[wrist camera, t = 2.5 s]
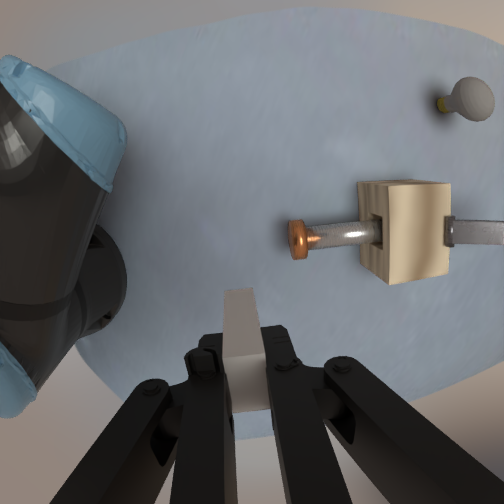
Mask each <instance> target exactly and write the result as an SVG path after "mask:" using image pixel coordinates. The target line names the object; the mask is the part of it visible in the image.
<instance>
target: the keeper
mask: <svg viewBox="0 0 504 504" xmlns="http://www.w3.org/2000/svg"><path fill="white" fill-rule="evenodd" d="M454 244H488V245H504V221H489V220H455V216H446V233H445V246H446V247H454Z"/></svg>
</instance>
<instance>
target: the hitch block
mask: <svg viewBox="0 0 504 504" xmlns="http://www.w3.org/2000/svg"><path fill="white" fill-rule="evenodd" d="M357 187H358V203H359V221H366V220H376V219H382V220H383V241H380V242H372V243H364V244H360V264H362V265H363V266H364V267H366V268H367V269H368V270H370V271H371V272H372V273H374V274H375V275H376V276H378V277H379V278H380V279H382V280H383V281H384V282H385V283H387V284H388V285H393V284H398V283H403V282H409V281H414V280H419V279H424V278H429V277H434V276H439V275H444V274H448V265H449V250H450V247H446V246H445V233H446V216H451V193H450V184H449V183H441V182H432V181H423V180H389V181H369V182H357Z"/></svg>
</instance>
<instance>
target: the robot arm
mask: <svg viewBox="0 0 504 504" xmlns="http://www.w3.org/2000/svg"><path fill="white" fill-rule="evenodd" d="M126 145H127V133H126V129H125V127H124V125H123V123H122V122H121V120H120V119H119V118H118V117H117V116H115V115H114V114H113V113H111V112H110V111H109V110H107V109H106V108H104V107H103V106H101V105H100V104H99V103H97V102H96V101H94V100H92V99H91V98H89V97H88V96H86V95H85V94H83V93H82V92H80V91H78V90H77V89H75V88H73V87H72V86H70V85H68V84H67V83H65V82H63V81H62V80H60V79H58V78H56V77H55V76H53V75H51V74H49V73H47V72H45V71H43V70H42V69H40V68H38V67H34V66H32V65H31V64H29V63H26V62H24V61H22V60H21V59H20V58H18V57H15V56H12V55H5V56H4V57H2V59H1V60H0V417H2V418H13V417H16V416H18V415H19V414H20V413H21V412H22V411H23V410H24V409H25V408H26V406H27V405H28V404H29V403H30V402H32V401H34V400H35V399H36V396H37V393H38V391H39V390H40V389H41V387H42V386H43V384H44V383H45V381H46V380H47V379H48V378H49V376H50V375H51V374H52V372H53V371H54V370H55V368H56V367H57V366H58V364H59V363H60V362H61V360H62V359H63V358H64V356H65V355H66V354H67V352H68V351H69V350H70V348H71V347H72V346H73V345H74V343H75V342H76V341H77V340H78V339H79V338H82V337H84V336H87V335H90V334H92V333H95V332H97V331H99V330H101V329H102V328H104V327H105V326H106V325H108V324H109V323H110V322H111V321H112V319H113V318H114V317H115V315H116V314H117V313H118V311H119V310H120V308H121V306H122V304H123V301H124V299H125V295H126V288H127V276H126V269H125V265H124V262H123V259H122V256H121V254H120V251H119V250H118V248H117V246H116V244H115V243H114V241H113V240H112V239H111V237H110V236H109V235H108V234H107V233H106V232H105V231H104V230H103V229H102V228H101V227H100V226H98V225H97V224H96V223H97V221H98V218H99V215H100V213H101V210H102V208H103V206H104V203H105V201H106V198H107V196H108V193H111V192H112V189H113V185H112V182H113V179H114V177H115V174H116V171H117V168H118V166H119V163H120V161H121V159H122V156H123V154H124V151H125V148H126ZM184 360H185V364H186V367H187V371H188V375H189V376H188V380H186V381H185V382H183V383H180V384H177V385H173V386H169V385H168V383H167V382H166V381H165V380H162V379H149V380H145V381H143V382H141V383H140V384H139V385H138V386H136V388H135V389H134V390H133V392H132V393H131V394H130V396H129V397H128V398H127V400H126V401H125V402H124V404H123V405H122V406H121V408H120V409H119V410H118V412H117V413H116V414H115V416H114V417H113V418H112V420H111V421H110V422H109V424H108V425H107V426H106V428H105V429H104V430H103V432H102V433H101V434H100V436H99V437H98V438H97V440H96V441H95V442H94V444H93V445H92V446H91V448H90V449H89V450H88V452H87V453H86V454H85V456H84V457H83V458H82V460H81V461H80V462H79V464H78V465H77V467H76V468H75V469H74V471H73V472H72V473H71V475H70V476H69V477H68V479H67V480H66V482H65V483H64V484H63V486H62V487H61V488H60V490H59V491H58V492H57V494H56V495H55V496H54V498H53V499H52V501H51V502H50V504H154V503H155V501H156V498H157V497H158V495H159V493H160V490H161V488H162V486H163V484H164V481H165V480H166V478H167V476H168V474H169V472H170V469H171V468H172V465H173V463H174V461H175V466H174V473H173V481H172V488H171V496H170V504H238V499H237V481H236V480H237V479H236V458H235V435H234V420H233V415H232V410H233V413H239V412H249V411H257V410H265V409H271V417H272V426H273V430H274V435H275V440H276V446H277V452H278V458H279V463H280V469H281V475H282V481H283V487H284V492H285V498H286V503H287V504H352V501H351V498H350V495H349V492H348V489H347V486H346V484H345V481H344V478H343V475H342V472H341V469H340V467H339V464H338V461H337V458H336V455H335V453H334V450H333V447H332V444H331V441H330V439H329V436H328V433H327V430H326V427H325V425H326V426H327V427H328V428H329V430H330V431H331V432H332V433H333V435H334V436H335V437H336V439H337V440H338V441H339V442H340V443H341V445H342V446H343V447H344V449H345V450H346V451H347V452H348V454H349V455H350V456H351V457H352V458H353V459H354V461H355V462H356V463H357V465H358V466H359V467H360V468H361V470H362V471H363V472H364V473H365V474H366V476H367V477H368V478H369V479H370V480H371V482H372V483H373V484H374V485H375V486H376V487H377V489H378V490H379V491H380V492H381V493H382V495H383V496H384V497H385V498H386V499H387V501H388V502H389V503H390V504H504V482H503V481H502V480H501V479H499V478H498V477H497V476H495V475H494V474H493V473H492V472H490V471H489V470H488V469H487V468H486V467H484V466H483V465H482V464H481V463H479V462H478V461H477V460H476V459H475V458H473V457H472V456H471V455H470V454H468V453H467V452H466V451H465V450H463V449H462V448H461V447H460V446H459V445H458V444H456V443H455V442H454V441H453V440H451V439H450V438H449V437H448V436H447V435H445V434H444V433H443V432H442V431H440V430H439V429H438V428H437V427H436V426H435V425H433V424H432V423H431V422H430V421H429V420H427V419H426V418H425V417H424V416H423V415H421V414H420V413H419V412H418V411H417V410H415V409H414V408H413V407H412V406H411V405H409V404H408V403H407V402H406V401H405V400H404V399H402V398H401V397H400V396H399V395H398V394H396V393H395V392H394V391H393V390H392V389H390V388H389V387H388V386H387V385H386V384H385V383H383V382H382V381H381V380H380V379H379V378H377V377H376V376H375V375H374V374H373V373H372V372H370V371H369V370H368V369H367V368H366V367H364V366H363V365H362V364H361V363H360V362H359V361H357V360H356V359H354V358H352V357H347V356H338V357H334V358H331V359H329V360H328V361H327V362H326V363H325V364H324V368H322V367H309V366H306V365H304V364H303V363H302V361H301V360H300V359H299V358H297V356H296V354H295V351H294V348H293V345H292V342H291V339H290V337H289V334H288V331H287V329H286V328H284V327H283V326H282V325H276V326H268V327H261V328H260V324H259V319H258V314H257V309H256V303H255V298H254V293H253V288H246V289H238V290H229V291H225V295H224V322H223V333H215V334H205V335H204V336H203V337H202V338H201V339H200V340H199V344H198V348H195V349H192V350H190V351H189V352H188V353H186V355H185V356H184ZM323 421H324V422H323ZM324 423H325V424H324Z"/></svg>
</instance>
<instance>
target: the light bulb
mask: <svg viewBox="0 0 504 504" xmlns="http://www.w3.org/2000/svg"><path fill="white" fill-rule="evenodd" d="M437 106H438V108H439V110H440V111H441V112H443V113H448V112H458V113H459V114H460V115H462V116H463V117H465V118H466V119H468V120H471V121H476V122H478V121H484V120H486V119H487V118H488V117H490V115H491V114H492V113H493V110H494V107H495V99H494V95H493V93H492V91H491V89H490V87H489V86H488V85H487V84H486V83H485V82H484V81H482V80H480V79H478V78H475V77H466V78H462V79H461V80H459V81H458V82H457V83H456V84H455V86H454V88H453V91H452V93H451V95H449V96H446V97H443V98H439V99H438V101H437Z"/></svg>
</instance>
